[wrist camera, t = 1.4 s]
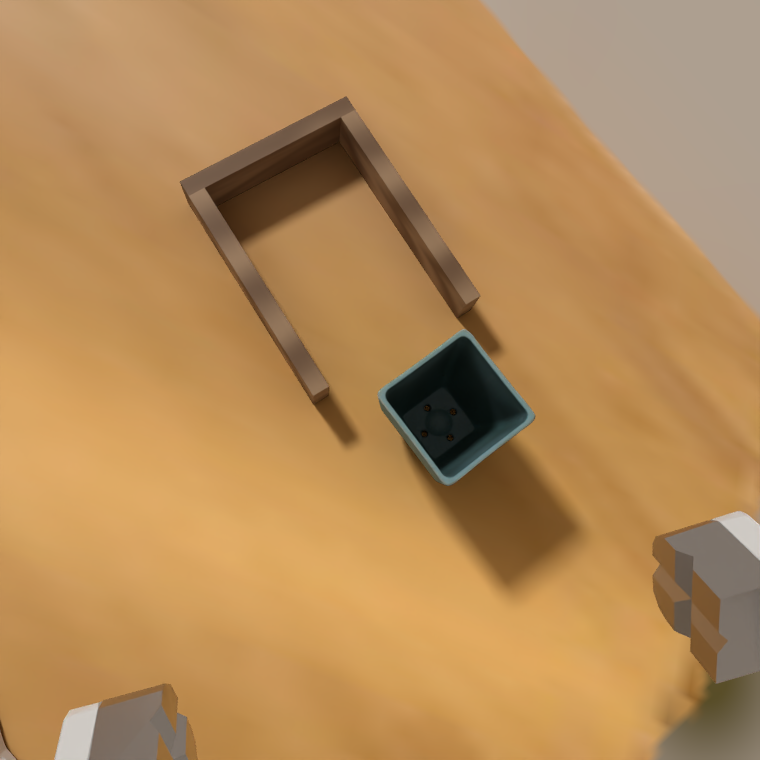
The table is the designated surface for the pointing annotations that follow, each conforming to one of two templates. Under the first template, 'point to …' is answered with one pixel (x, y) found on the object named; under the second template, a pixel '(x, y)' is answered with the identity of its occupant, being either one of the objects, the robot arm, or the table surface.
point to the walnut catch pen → (286, 152)
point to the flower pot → (463, 394)
